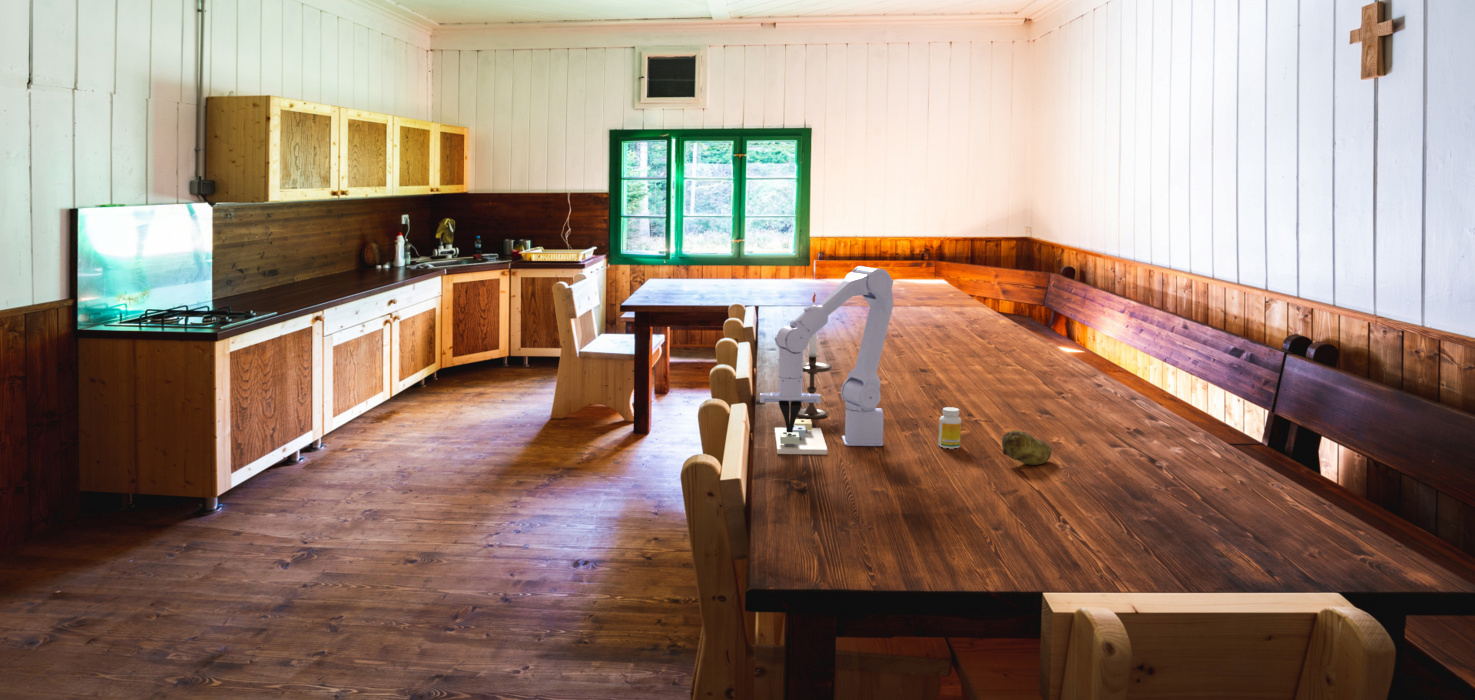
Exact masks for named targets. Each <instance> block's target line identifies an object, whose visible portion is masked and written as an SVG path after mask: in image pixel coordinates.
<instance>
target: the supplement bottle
mask: <svg viewBox="0 0 1475 700" xmlns="http://www.w3.org/2000/svg"><path fill="white" fill-rule="evenodd" d="M941 414H942V415H940V417H939V419H938V436H937V437H938V438H937V444H938V445H939V446H940V448H941V447H943V448H942V449H946V448H949V449H948V450H955V449H954V448H957V449H959V448H960V445H961V438H962V437H961V433H962V419H961V417H960V416H959V415H960V409H959V408H957V407H953V406H952V407H950V406H947V407H946V406H945V407H942V413H941ZM938 445H937V446H938ZM939 446H938V447H939Z"/></svg>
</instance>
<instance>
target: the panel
mask: <svg viewBox="0 0 1475 700" xmlns="http://www.w3.org/2000/svg"><path fill="white" fill-rule="evenodd" d="M780 432H787V431H786V427H774V437H775V447H776V451H777V453H776V454H778V455H828V447H827V444H826V441H825V438H824V435H823V431H822V428H821V427H812V430H806V437H799V444H781V443H780Z"/></svg>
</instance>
